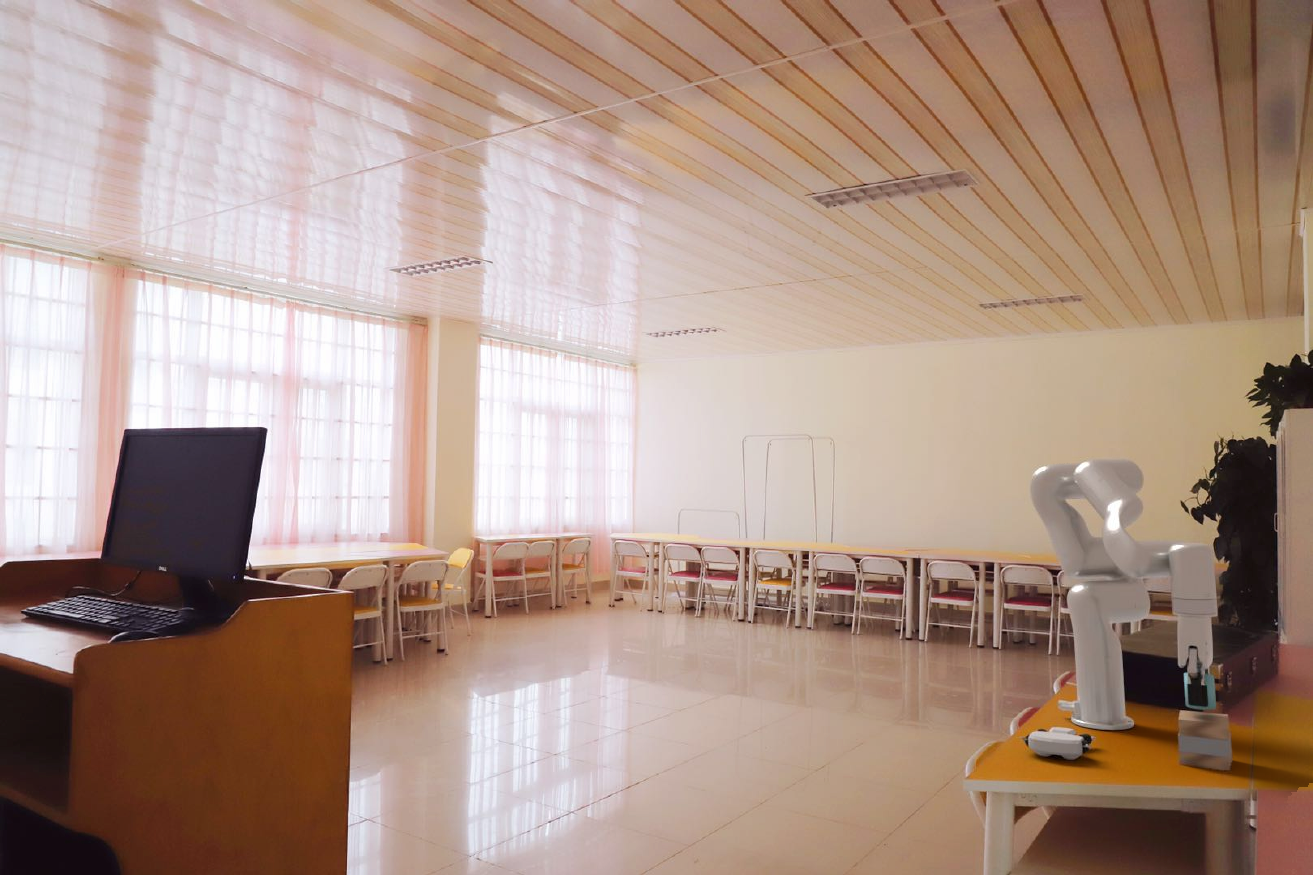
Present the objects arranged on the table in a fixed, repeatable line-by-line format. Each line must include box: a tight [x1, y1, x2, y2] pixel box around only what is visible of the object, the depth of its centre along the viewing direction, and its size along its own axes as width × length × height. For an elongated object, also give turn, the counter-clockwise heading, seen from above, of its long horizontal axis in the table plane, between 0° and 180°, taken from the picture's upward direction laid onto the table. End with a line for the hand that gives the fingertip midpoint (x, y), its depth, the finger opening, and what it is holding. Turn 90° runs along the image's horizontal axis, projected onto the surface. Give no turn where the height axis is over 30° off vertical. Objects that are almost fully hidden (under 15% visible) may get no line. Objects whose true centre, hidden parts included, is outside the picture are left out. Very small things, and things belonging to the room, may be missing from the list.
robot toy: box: [1019, 726, 1096, 761], centre depth 180 cm, size 12×4×15 cm
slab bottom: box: [1178, 746, 1233, 771], centre depth 171 cm, size 8×8×3 cm
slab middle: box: [1177, 730, 1232, 757], centre depth 171 cm, size 8×8×3 cm
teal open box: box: [1183, 672, 1217, 711], centre depth 172 cm, size 5×5×6 cm
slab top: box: [1177, 710, 1230, 740], centre depth 172 cm, size 8×8×3 cm
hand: (1200, 701), depth 172 cm, fingers closed on teal open box, 4 cm apart
